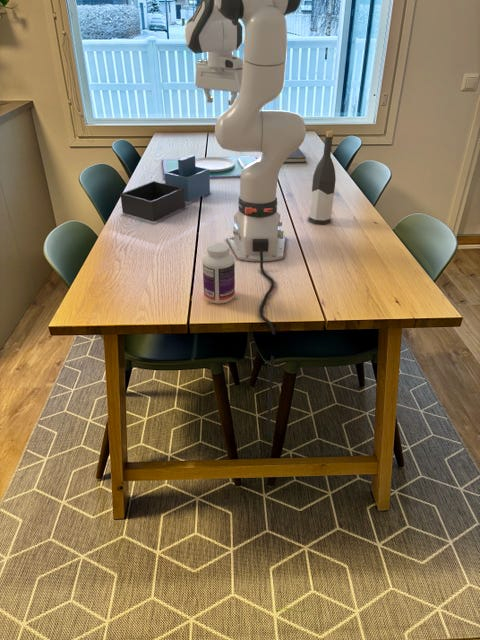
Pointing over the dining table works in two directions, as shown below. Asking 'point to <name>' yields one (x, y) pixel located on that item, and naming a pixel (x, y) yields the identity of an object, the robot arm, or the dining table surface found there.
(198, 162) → the place mat
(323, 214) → the wine bottle
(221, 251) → the pill bottle
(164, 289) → the dining table surface
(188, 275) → the dining table surface
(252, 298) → the dining table surface
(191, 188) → the caddy
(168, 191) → the tote
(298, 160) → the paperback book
